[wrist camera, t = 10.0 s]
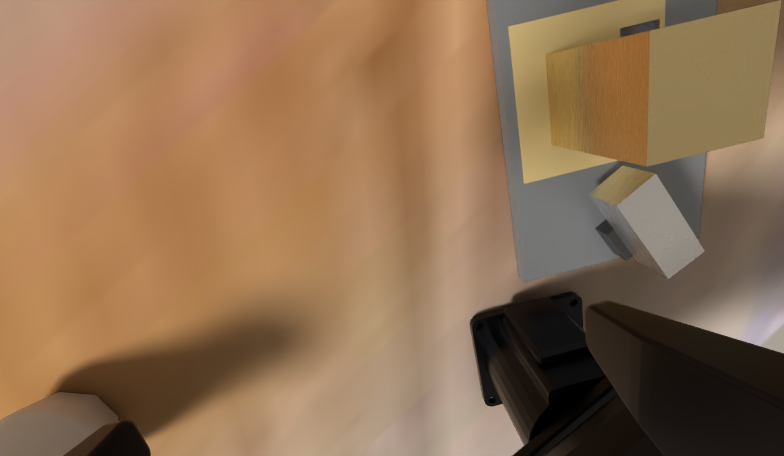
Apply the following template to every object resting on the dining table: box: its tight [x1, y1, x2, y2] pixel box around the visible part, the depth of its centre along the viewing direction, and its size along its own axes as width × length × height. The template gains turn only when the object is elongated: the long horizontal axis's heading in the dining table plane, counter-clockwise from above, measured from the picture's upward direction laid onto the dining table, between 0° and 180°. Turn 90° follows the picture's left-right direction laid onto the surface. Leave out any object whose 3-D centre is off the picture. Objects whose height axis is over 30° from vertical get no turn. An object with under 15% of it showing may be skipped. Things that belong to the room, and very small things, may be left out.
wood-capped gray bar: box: [588, 166, 705, 279], centre depth 16 cm, size 18×4×3 cm, turn 13°
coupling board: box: [487, 0, 717, 282], centre depth 17 cm, size 18×10×1 cm, turn 13°
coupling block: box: [546, 0, 782, 167], centre depth 14 cm, size 5×4×6 cm
